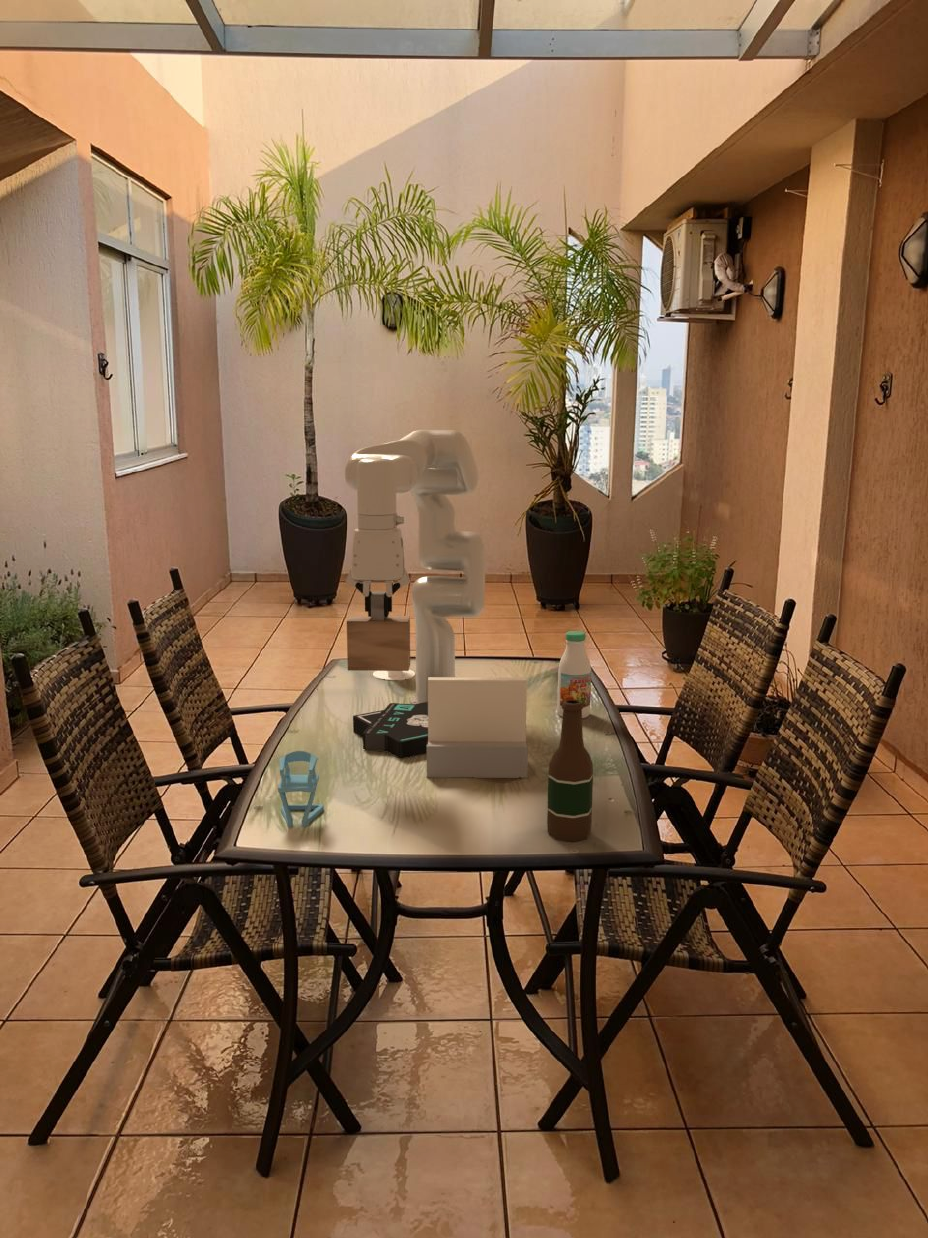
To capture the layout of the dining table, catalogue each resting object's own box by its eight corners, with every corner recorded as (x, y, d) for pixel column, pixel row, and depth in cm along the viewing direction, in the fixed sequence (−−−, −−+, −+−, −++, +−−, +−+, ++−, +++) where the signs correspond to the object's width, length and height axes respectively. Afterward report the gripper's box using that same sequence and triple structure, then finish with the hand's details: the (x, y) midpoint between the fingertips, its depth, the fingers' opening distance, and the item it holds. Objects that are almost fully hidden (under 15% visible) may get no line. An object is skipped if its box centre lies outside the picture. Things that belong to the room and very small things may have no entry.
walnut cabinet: (351, 663, 215) (349, 590, 212) (410, 664, 215) (409, 591, 211) (347, 670, 210) (346, 596, 207) (408, 671, 210) (407, 596, 206)
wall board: (428, 760, 221) (428, 677, 217) (525, 761, 221) (526, 677, 217) (426, 777, 212) (426, 690, 208) (527, 778, 211) (528, 691, 208)
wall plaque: (332, 755, 225) (471, 765, 219) (331, 737, 224) (471, 747, 218) (372, 713, 254) (496, 721, 248) (372, 697, 253) (496, 704, 247)
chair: (274, 828, 188) (272, 763, 185) (281, 809, 196) (279, 747, 193) (318, 827, 188) (316, 763, 185) (323, 808, 196) (322, 747, 193)
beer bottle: (543, 825, 189) (546, 695, 184) (587, 823, 190) (591, 694, 184) (550, 843, 181) (553, 708, 176) (595, 842, 182) (599, 708, 177)
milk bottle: (550, 714, 252) (552, 632, 248) (572, 707, 257) (574, 627, 253) (574, 722, 247) (576, 638, 242) (596, 715, 252) (599, 633, 247)
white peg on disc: (417, 680, 280) (417, 625, 277) (374, 682, 279) (373, 626, 276) (413, 668, 292) (412, 615, 289) (371, 670, 290) (370, 616, 287)
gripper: (420, 520, 209) (420, 611, 213) (338, 519, 210) (340, 611, 214) (417, 525, 202) (418, 620, 206) (332, 525, 202) (335, 619, 206)
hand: (378, 614), depth 210 cm, fingers closed on walnut cabinet, 2 cm apart
